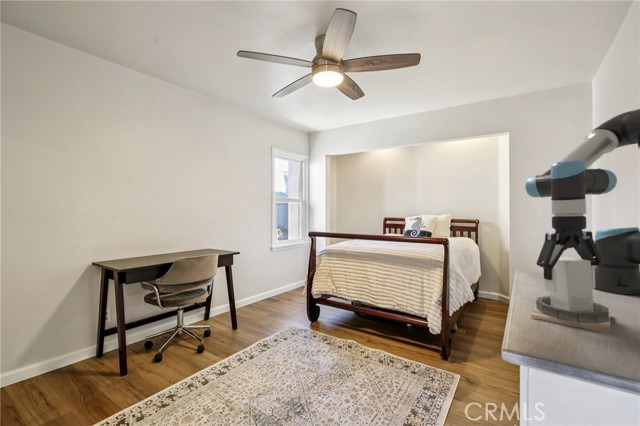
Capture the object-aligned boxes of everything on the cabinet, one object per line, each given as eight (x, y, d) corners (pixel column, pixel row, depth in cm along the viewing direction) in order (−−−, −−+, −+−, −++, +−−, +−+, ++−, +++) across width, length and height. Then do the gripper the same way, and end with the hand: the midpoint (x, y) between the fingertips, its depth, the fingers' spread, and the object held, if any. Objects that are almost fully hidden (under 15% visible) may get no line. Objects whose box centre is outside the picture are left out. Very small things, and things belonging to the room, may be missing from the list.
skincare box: (594, 318, 78) (593, 261, 78) (567, 317, 79) (566, 261, 79) (572, 308, 87) (571, 256, 87) (548, 307, 88) (546, 256, 88)
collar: (541, 304, 94) (540, 293, 94) (610, 316, 83) (610, 303, 83) (531, 318, 83) (531, 305, 83) (610, 333, 72) (609, 318, 72)
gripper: (588, 214, 89) (590, 282, 89) (520, 216, 84) (522, 289, 84) (617, 214, 82) (619, 288, 82) (545, 216, 77) (547, 296, 77)
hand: (570, 289), depth 83 cm, fingers open, 13 cm apart
